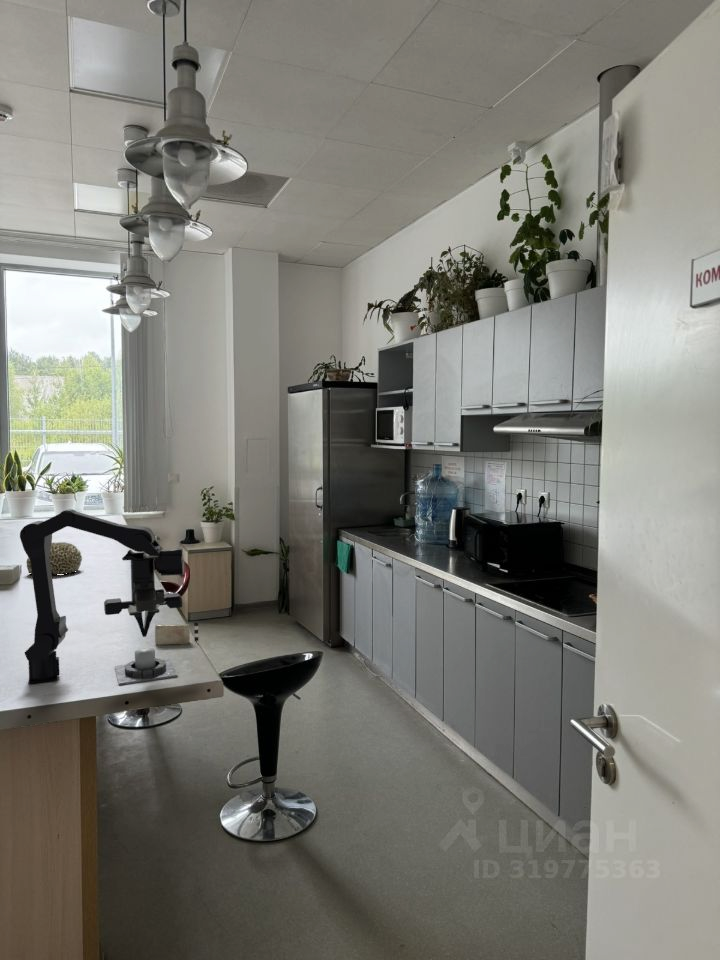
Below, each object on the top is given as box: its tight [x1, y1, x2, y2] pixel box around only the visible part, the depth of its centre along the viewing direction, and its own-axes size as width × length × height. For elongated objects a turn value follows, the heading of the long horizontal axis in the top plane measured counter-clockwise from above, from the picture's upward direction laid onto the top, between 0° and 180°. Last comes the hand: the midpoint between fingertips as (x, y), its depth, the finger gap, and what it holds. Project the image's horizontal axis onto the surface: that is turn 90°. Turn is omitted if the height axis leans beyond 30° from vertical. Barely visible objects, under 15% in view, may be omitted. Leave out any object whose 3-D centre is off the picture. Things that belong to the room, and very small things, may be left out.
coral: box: [25, 541, 83, 575], centre depth 303 cm, size 23×18×15 cm
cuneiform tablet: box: [154, 621, 199, 646], centre depth 197 cm, size 6×4×12 cm
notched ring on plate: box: [114, 657, 179, 686], centre depth 172 cm, size 14×14×2 cm
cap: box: [134, 647, 156, 669], centre depth 172 cm, size 5×5×5 cm
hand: (144, 636), depth 171 cm, fingers closed
